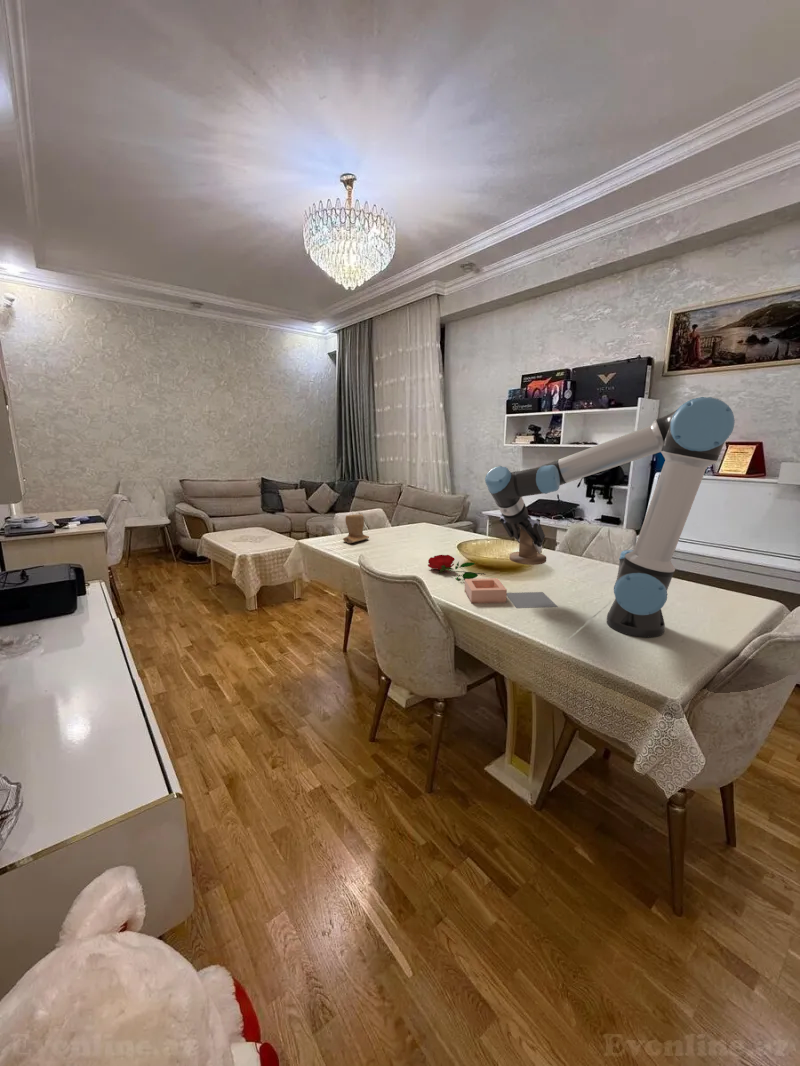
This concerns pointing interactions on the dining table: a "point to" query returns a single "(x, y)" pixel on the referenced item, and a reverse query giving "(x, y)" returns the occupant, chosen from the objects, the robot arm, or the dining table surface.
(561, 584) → the dining table surface
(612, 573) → the dining table surface
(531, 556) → the lid
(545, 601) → the mat
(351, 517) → the wooden stamp
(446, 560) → the flower
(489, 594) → the dish
